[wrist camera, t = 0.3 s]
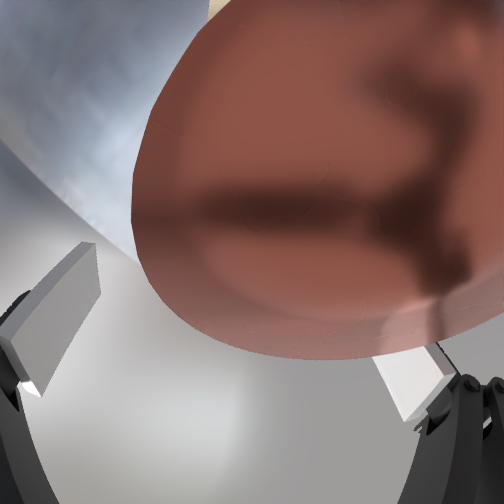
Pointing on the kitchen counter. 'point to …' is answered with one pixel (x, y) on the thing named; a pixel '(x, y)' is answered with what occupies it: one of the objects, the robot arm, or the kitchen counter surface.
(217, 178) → the steel peg
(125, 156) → the kitchen counter surface
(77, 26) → the kitchen counter surface
